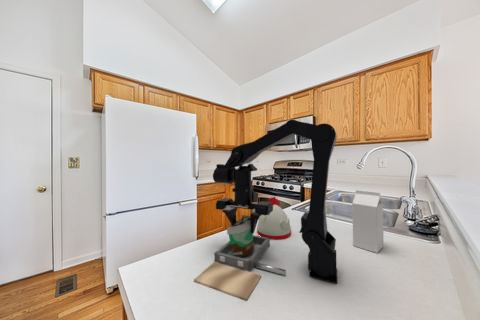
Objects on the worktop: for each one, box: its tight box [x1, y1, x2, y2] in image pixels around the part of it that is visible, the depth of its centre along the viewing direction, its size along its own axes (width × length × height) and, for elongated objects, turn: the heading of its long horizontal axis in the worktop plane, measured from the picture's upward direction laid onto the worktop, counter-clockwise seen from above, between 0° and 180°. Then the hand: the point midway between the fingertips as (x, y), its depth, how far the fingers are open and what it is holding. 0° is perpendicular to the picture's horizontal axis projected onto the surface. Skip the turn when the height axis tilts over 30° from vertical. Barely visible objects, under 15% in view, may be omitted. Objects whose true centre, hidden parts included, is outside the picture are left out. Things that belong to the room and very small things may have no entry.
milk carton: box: [352, 189, 385, 254], centre depth 64 cm, size 7×7×19 cm
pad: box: [193, 261, 262, 302], centre depth 48 cm, size 15×9×1 cm, turn 63°
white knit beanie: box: [256, 196, 292, 241], centre depth 77 cm, size 14×14×15 cm
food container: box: [226, 214, 255, 258], centre depth 61 cm, size 12×6×10 cm, turn 156°
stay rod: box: [253, 261, 287, 276], centre depth 52 cm, size 10×1×1 cm, turn 63°
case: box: [214, 234, 271, 272], centre depth 61 cm, size 12×17×2 cm
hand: (243, 231), depth 61 cm, fingers open, 6 cm apart
